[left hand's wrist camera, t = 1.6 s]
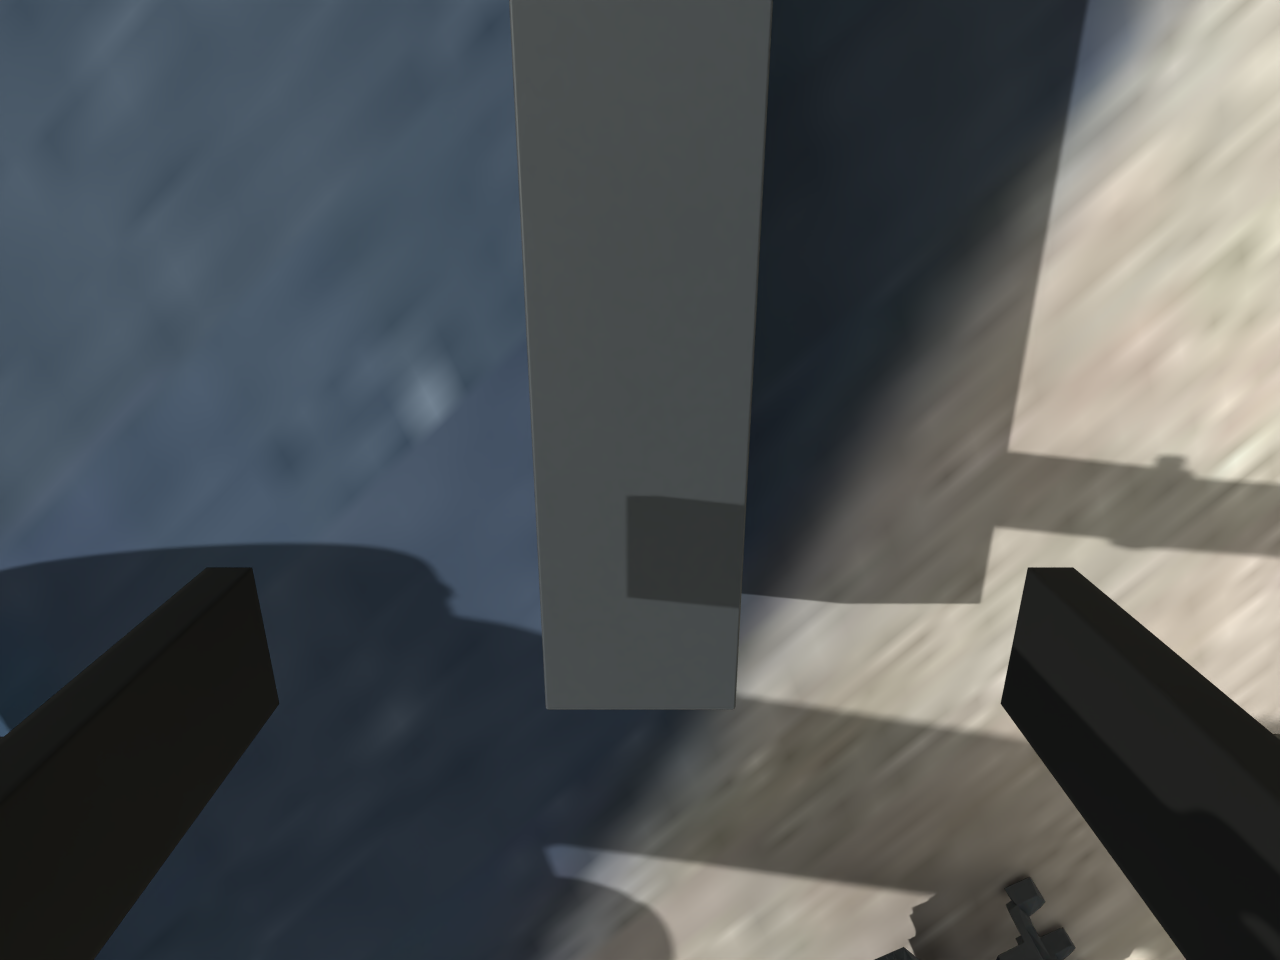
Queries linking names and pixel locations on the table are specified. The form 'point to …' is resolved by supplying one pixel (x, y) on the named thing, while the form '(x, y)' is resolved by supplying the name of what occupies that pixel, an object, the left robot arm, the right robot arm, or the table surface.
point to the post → (640, 335)
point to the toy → (1021, 930)
